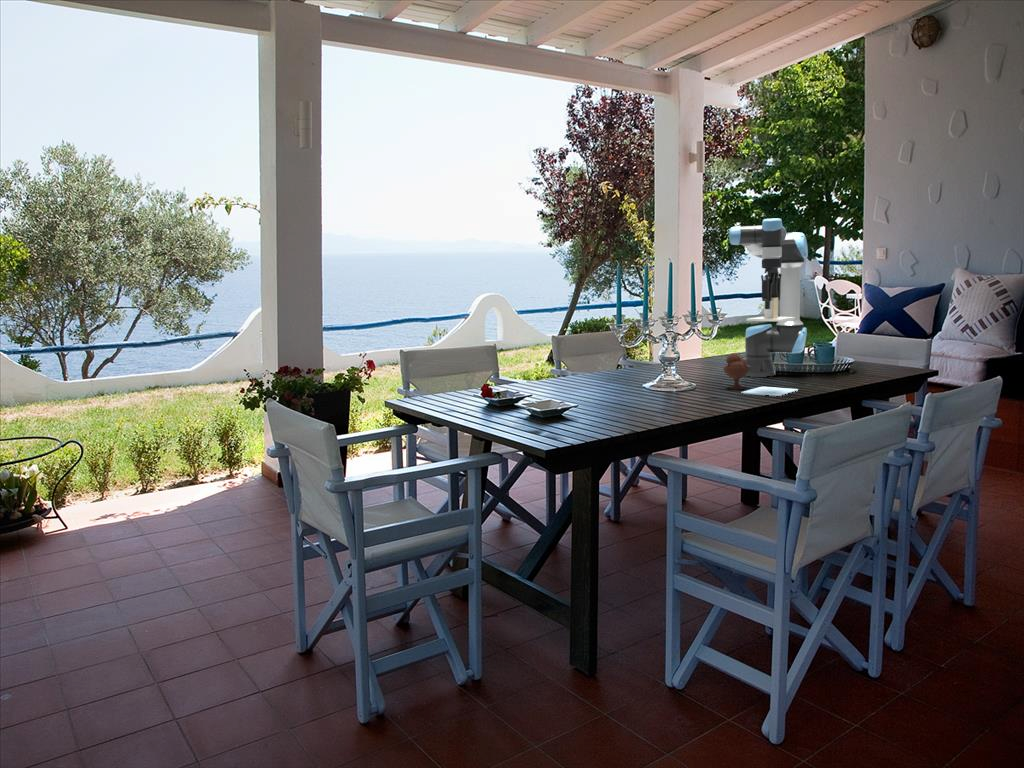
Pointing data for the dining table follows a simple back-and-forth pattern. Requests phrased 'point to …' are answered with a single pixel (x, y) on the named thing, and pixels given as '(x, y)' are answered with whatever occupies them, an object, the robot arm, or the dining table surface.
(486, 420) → the dining table surface
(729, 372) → the ice cream bowl
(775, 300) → the lid
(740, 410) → the dining table surface
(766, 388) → the mat
